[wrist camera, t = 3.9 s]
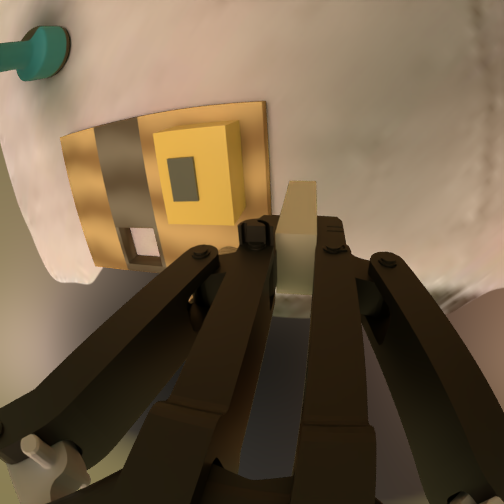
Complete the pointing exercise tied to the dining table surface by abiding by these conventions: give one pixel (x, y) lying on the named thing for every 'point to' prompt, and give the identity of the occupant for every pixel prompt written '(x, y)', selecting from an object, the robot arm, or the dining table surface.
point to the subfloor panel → (155, 184)
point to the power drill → (36, 53)
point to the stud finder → (201, 173)
